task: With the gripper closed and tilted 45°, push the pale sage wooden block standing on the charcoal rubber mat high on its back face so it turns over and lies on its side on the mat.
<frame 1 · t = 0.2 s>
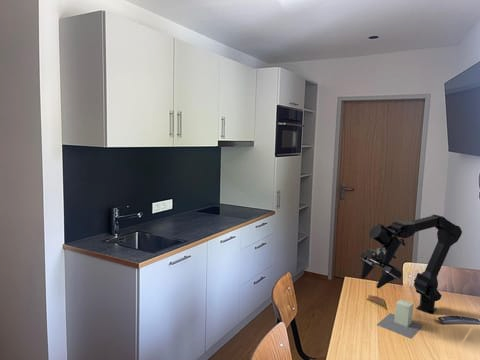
hand: (369, 283, 140), 15 cm above the table, tool tilted 30°, fingers open, 9 cm apart
sage block: (402, 322, 139), resting on rubber mat
shard: (378, 304, 156), on the table
rubber mat: (400, 325, 136), on the table
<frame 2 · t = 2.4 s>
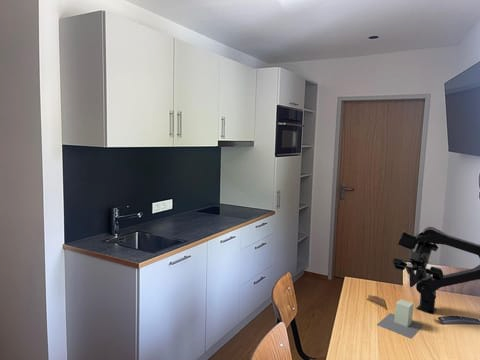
hand: (410, 286, 141), 14 cm above the table, tool tilted 45°, fingers closed
nothing on the table moved.
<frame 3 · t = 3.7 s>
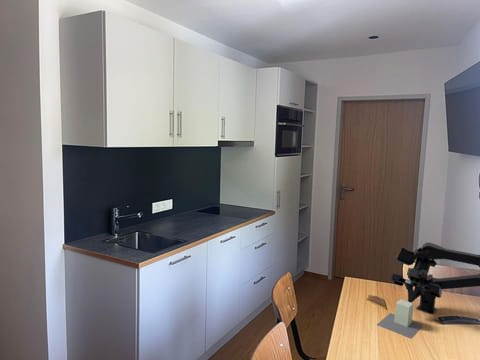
hand: (409, 302, 142), 7 cm above the table, tool tilted 45°, fingers closed
nothing on the table moved.
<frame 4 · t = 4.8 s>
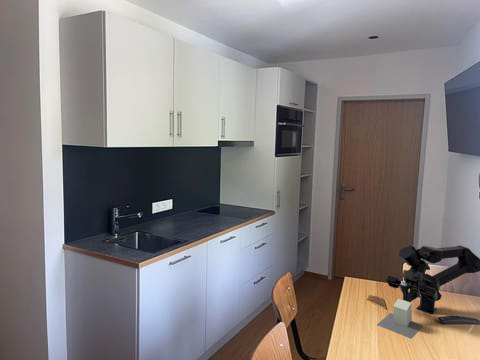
hand: (404, 305, 139), 7 cm above the table, tool tilted 45°, fingers closed
sage block: (403, 320, 138), point 1 cm above the table, tilted 18°, touching gripper, rubber mat
everything else where it was.
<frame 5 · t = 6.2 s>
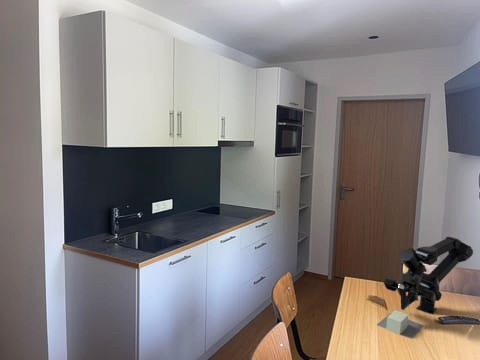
hand: (402, 309, 136), 7 cm above the table, tool tilted 45°, fingers closed
sage block: (401, 318, 136), point 3 cm above the table, tilted 90°, touching rubber mat
everything else where it was.
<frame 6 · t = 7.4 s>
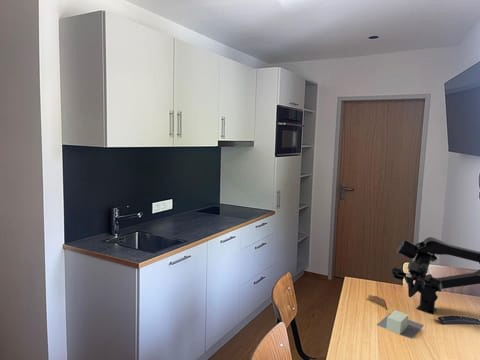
hand: (409, 296, 141), 9 cm above the table, tool tilted 45°, fingers closed
nothing on the table moved.
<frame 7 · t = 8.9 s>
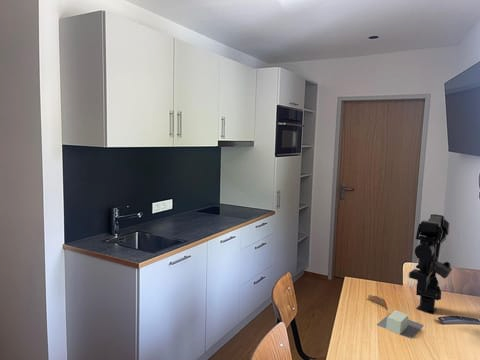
hand: (423, 291, 138), 13 cm above the table, tool pointing down, fingers closed
nothing on the table moved.
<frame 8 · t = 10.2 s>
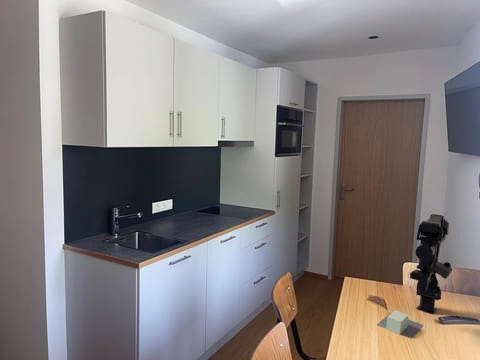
hand: (424, 292, 137), 13 cm above the table, tool pointing down, fingers closed
nothing on the table moved.
at the end: sage block tilted 90°; sage block touching rubber mat; sage block inside the target area (2.0 cm from its centre), point 2.8 cm above the table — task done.
